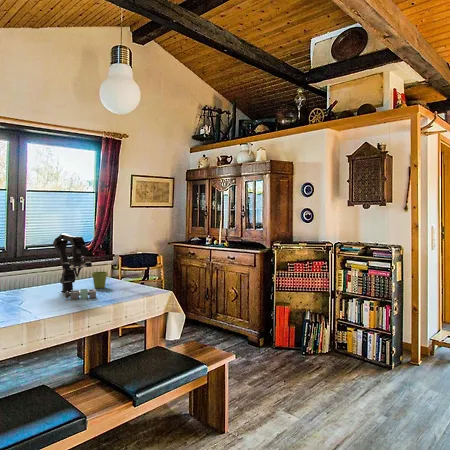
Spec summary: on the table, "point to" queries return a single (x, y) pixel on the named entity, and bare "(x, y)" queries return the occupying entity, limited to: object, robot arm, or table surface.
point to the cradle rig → (76, 294)
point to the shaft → (70, 294)
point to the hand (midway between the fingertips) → (77, 277)
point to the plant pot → (99, 279)
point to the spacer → (83, 293)
